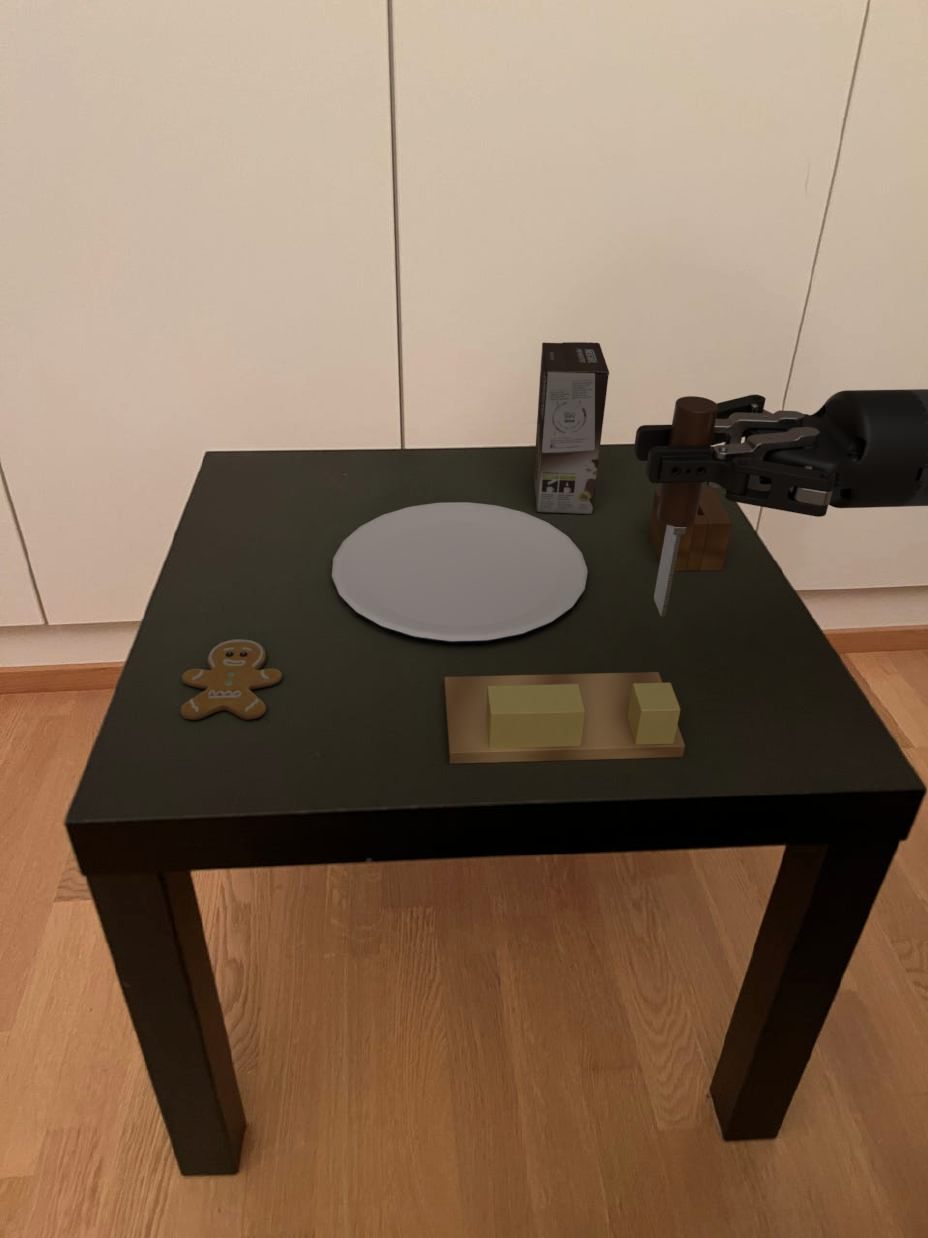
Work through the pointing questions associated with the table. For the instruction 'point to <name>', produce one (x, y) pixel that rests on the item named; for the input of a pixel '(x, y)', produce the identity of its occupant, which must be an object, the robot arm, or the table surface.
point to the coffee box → (569, 426)
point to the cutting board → (600, 740)
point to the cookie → (230, 681)
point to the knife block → (697, 535)
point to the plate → (459, 572)
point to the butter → (534, 716)
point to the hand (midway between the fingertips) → (643, 453)
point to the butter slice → (653, 713)
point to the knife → (681, 487)
